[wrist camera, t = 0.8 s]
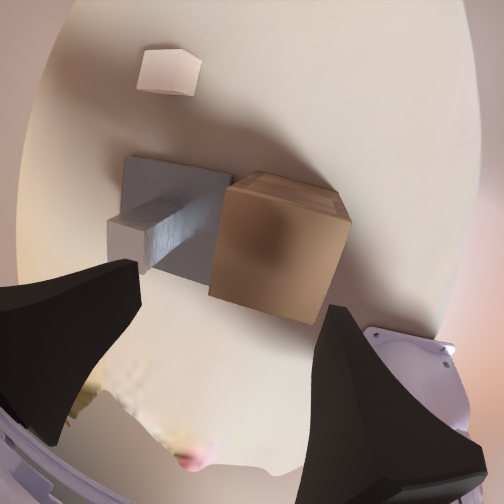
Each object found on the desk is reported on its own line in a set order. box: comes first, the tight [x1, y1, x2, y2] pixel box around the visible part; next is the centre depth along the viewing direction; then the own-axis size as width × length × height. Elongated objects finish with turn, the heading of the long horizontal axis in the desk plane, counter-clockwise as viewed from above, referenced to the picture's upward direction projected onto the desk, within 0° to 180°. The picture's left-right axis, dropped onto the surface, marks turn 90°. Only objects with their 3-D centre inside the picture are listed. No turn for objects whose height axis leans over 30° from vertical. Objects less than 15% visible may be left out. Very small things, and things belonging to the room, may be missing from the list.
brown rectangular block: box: [208, 171, 352, 325], centre depth 15 cm, size 5×5×7 cm
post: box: [107, 155, 234, 286], centre depth 17 cm, size 8×8×6 cm
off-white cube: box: [136, 49, 202, 96], centre depth 14 cm, size 3×3×3 cm
